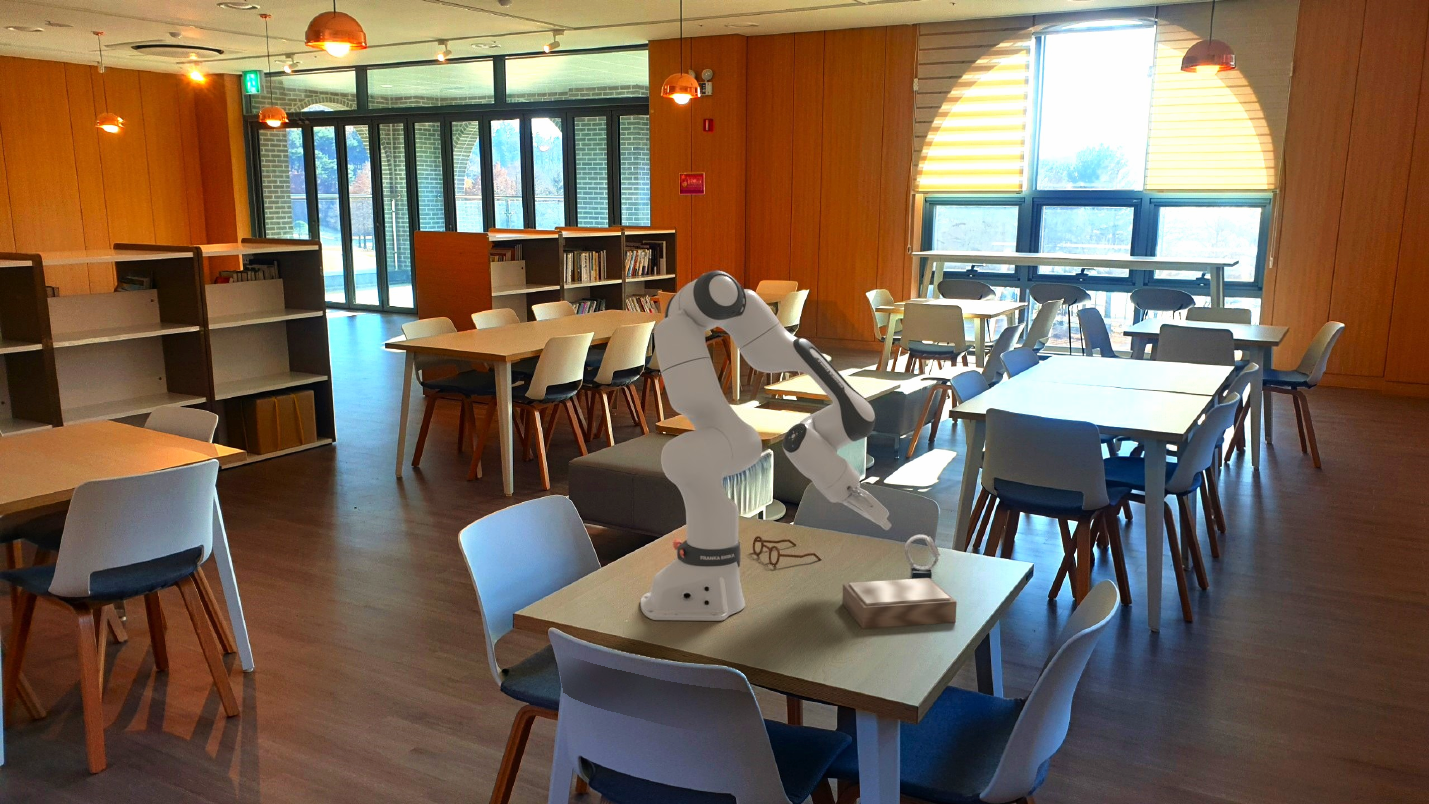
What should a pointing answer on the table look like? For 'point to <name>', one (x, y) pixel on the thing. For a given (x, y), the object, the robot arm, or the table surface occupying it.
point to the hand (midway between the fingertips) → (878, 521)
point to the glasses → (777, 549)
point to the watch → (922, 570)
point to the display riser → (898, 603)
